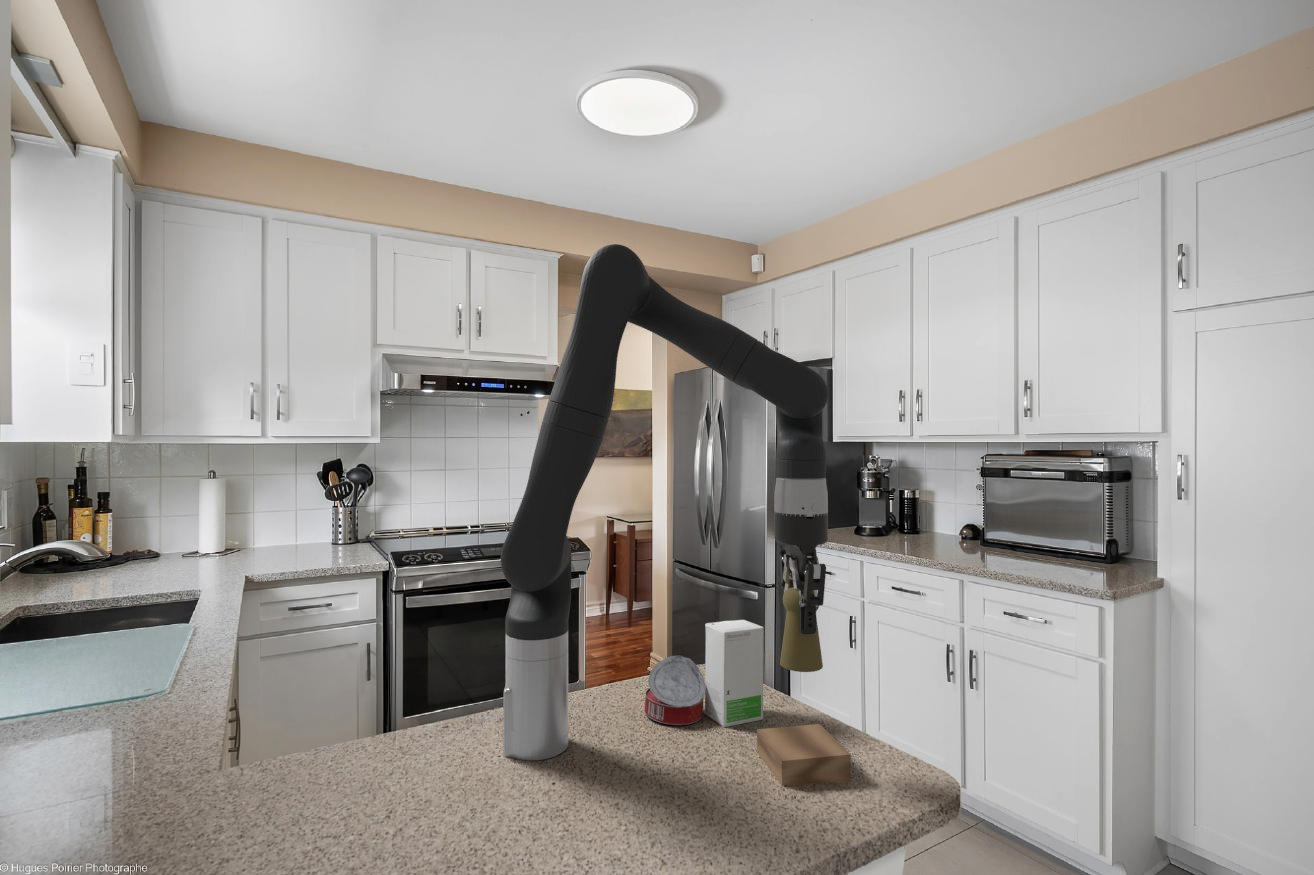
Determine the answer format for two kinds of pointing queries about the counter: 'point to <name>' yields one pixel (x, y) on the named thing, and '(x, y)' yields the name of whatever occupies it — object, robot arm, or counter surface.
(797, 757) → the walnut block
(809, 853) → the counter surface
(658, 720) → the canned food
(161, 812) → the counter surface
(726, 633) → the skincare box
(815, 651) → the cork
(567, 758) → the counter surface
